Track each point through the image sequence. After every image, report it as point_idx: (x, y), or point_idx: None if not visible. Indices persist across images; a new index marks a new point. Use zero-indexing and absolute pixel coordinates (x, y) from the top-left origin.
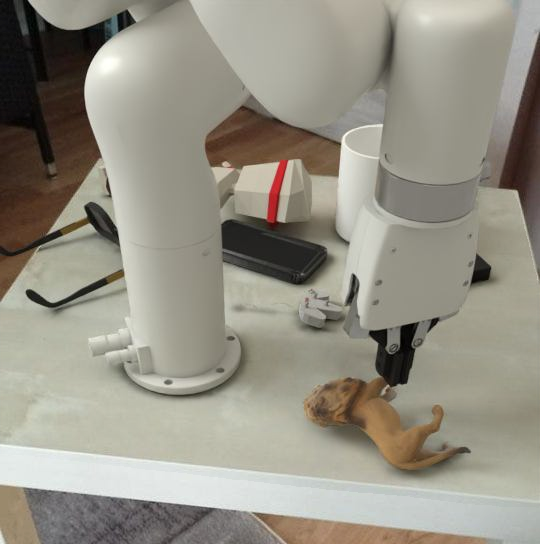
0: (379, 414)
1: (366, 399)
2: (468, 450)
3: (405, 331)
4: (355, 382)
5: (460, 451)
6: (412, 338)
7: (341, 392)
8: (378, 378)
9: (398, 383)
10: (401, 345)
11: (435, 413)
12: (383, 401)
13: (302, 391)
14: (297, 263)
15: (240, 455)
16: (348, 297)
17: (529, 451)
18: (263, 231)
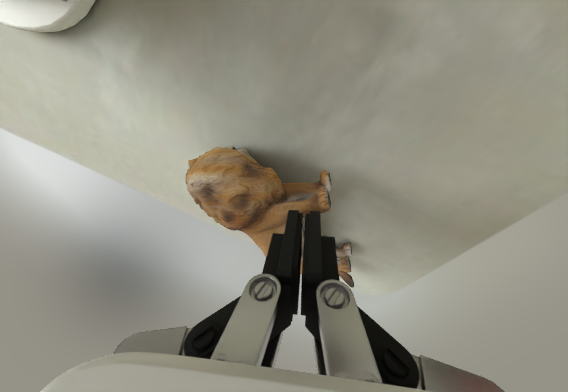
0: (267, 249)
1: (256, 232)
2: (350, 286)
3: (316, 324)
4: (245, 212)
5: (344, 280)
6: (314, 347)
7: (221, 215)
8: (287, 215)
9: (301, 256)
10: (303, 304)
11: (340, 266)
12: (283, 233)
13: (219, 85)
14: None
15: (132, 173)
16: (81, 373)
17: (428, 271)
18: None
